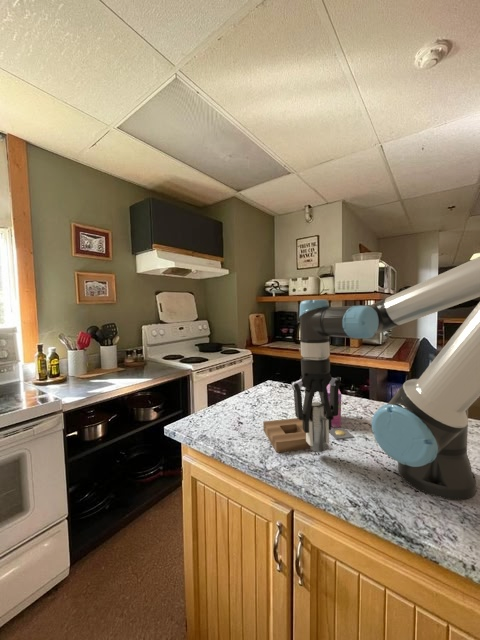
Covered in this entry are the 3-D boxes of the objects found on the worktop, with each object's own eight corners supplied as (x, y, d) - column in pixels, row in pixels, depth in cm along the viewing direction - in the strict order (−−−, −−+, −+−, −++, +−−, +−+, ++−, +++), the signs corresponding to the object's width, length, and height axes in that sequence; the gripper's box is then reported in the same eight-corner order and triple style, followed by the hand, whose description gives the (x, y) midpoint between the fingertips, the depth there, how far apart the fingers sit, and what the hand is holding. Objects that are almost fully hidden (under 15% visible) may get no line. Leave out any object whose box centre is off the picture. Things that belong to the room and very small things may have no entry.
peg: (328, 450, 75) (326, 406, 74) (314, 452, 74) (312, 408, 74) (321, 443, 79) (319, 401, 78) (307, 445, 78) (306, 403, 78)
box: (341, 427, 94) (341, 393, 93) (323, 426, 95) (323, 392, 94) (337, 415, 104) (336, 384, 103) (321, 414, 105) (320, 383, 104)
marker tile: (354, 437, 87) (354, 435, 87) (336, 439, 86) (336, 437, 86) (343, 428, 93) (343, 427, 93) (326, 430, 92) (326, 429, 92)
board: (322, 446, 82) (322, 436, 82) (276, 452, 79) (276, 442, 79) (303, 426, 96) (303, 417, 95) (263, 430, 93) (263, 421, 93)
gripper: (337, 352, 81) (339, 432, 82) (280, 357, 78) (283, 439, 79) (352, 357, 73) (353, 445, 74) (289, 362, 70) (292, 453, 71)
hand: (317, 442), depth 76 cm, fingers closed on peg, 4 cm apart
